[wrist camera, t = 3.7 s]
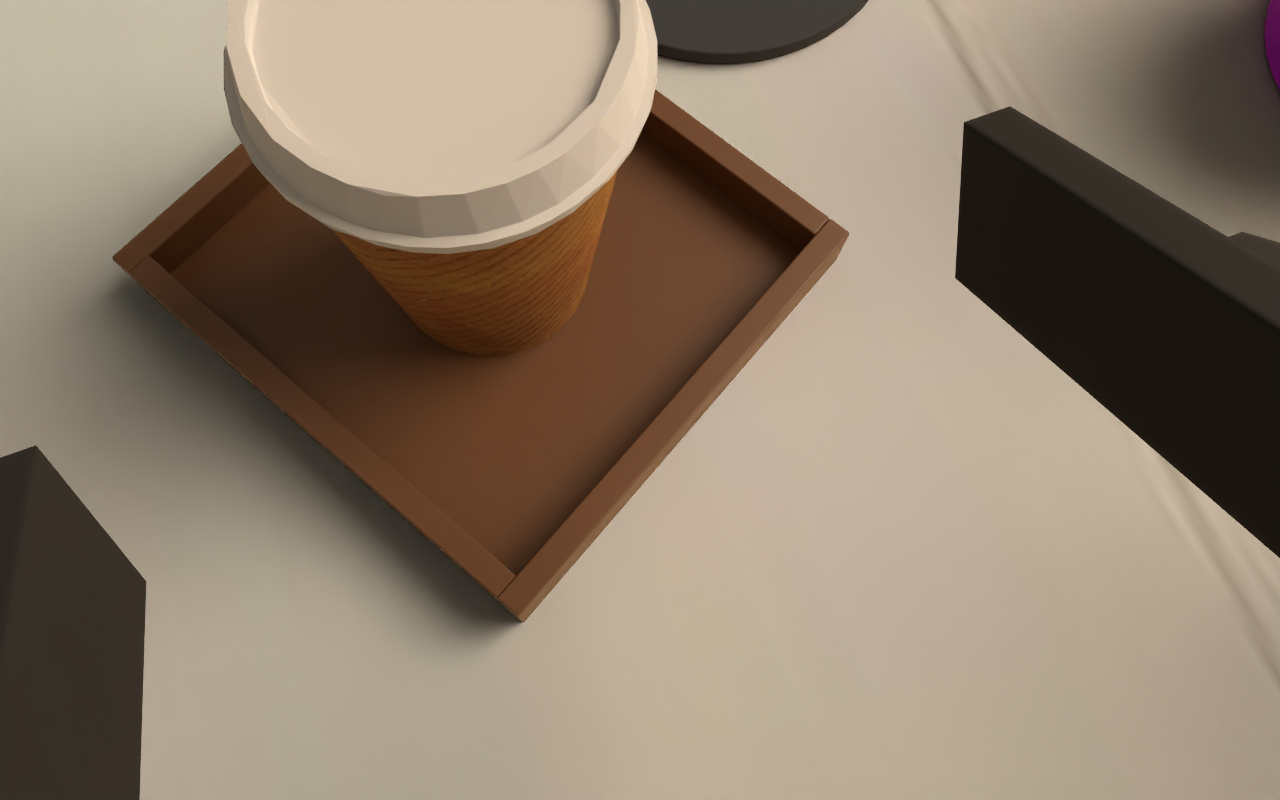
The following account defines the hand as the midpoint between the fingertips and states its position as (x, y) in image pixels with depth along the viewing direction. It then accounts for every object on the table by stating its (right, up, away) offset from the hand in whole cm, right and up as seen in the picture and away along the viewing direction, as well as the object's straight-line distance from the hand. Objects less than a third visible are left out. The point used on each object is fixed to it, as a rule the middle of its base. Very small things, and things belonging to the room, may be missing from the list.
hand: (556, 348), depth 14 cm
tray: (-4, +3, +19) cm, 19 cm away
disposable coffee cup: (-4, +4, +18) cm, 19 cm away
